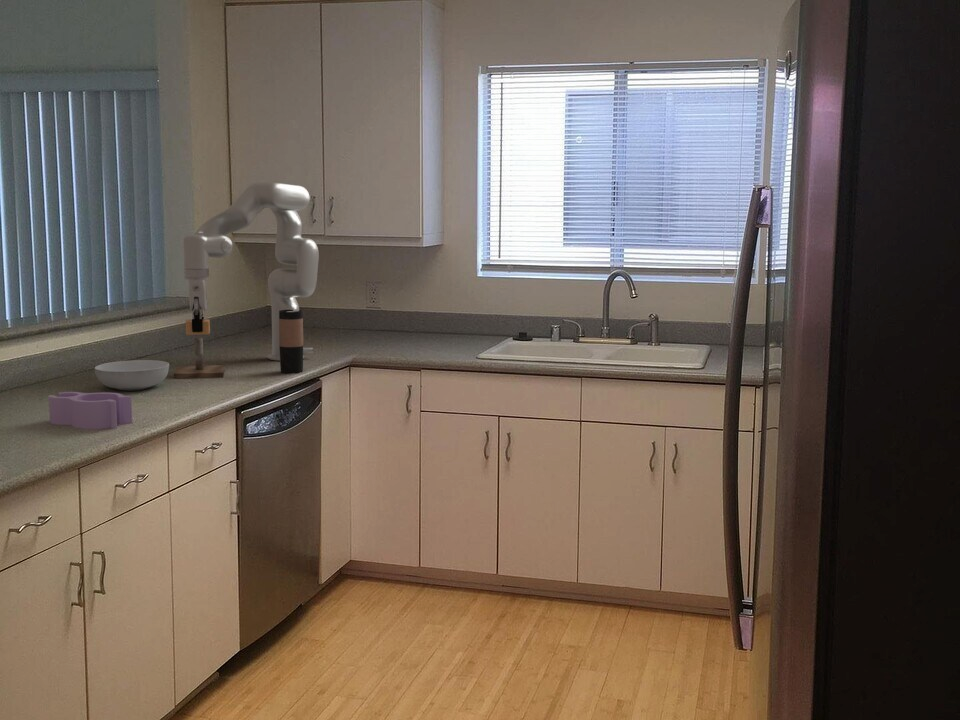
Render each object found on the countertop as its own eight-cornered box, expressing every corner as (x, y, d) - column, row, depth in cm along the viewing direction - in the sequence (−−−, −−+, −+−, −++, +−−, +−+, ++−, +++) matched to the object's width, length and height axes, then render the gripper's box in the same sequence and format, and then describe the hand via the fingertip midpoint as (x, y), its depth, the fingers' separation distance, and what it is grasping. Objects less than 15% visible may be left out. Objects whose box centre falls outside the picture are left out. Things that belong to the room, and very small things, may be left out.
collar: (209, 331, 338) (209, 319, 338) (208, 334, 331) (208, 321, 331) (187, 332, 337) (187, 319, 336) (185, 334, 330) (185, 321, 329)
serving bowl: (111, 381, 322) (110, 359, 321) (179, 382, 321) (178, 360, 320) (83, 393, 301) (82, 370, 300) (156, 395, 301) (155, 371, 300)
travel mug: (283, 374, 337) (282, 312, 334) (276, 370, 344) (275, 310, 341) (306, 372, 340) (305, 311, 337) (299, 369, 347) (298, 309, 344)
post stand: (224, 369, 345) (223, 334, 343) (223, 377, 330) (222, 341, 329) (177, 370, 342) (175, 335, 340) (173, 378, 327) (172, 341, 326)
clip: (38, 426, 259) (37, 398, 258) (71, 416, 271) (69, 389, 270) (109, 431, 254) (108, 403, 253) (139, 421, 266) (138, 394, 265)
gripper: (207, 276, 324) (209, 333, 326) (210, 272, 341) (211, 327, 343) (182, 276, 322) (184, 334, 325) (186, 272, 339) (187, 327, 342)
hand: (198, 330), depth 334 cm, fingers closed on collar, 7 cm apart
